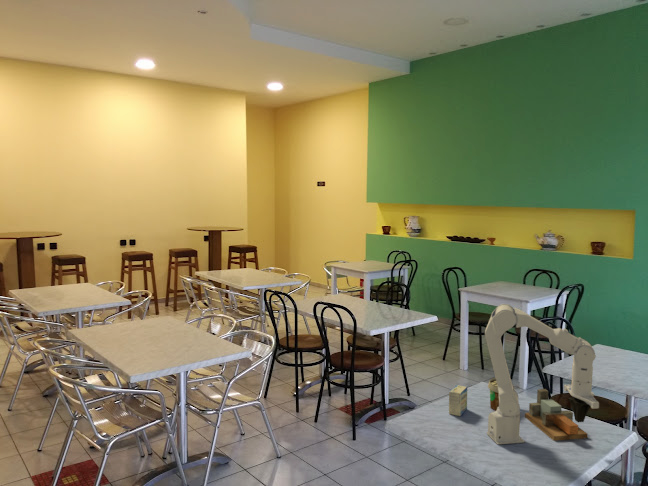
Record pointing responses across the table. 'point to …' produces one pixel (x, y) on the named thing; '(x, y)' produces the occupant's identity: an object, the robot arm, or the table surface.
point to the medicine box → (458, 400)
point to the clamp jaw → (560, 421)
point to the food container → (493, 394)
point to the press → (553, 430)
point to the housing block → (549, 406)
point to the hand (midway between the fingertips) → (579, 421)
